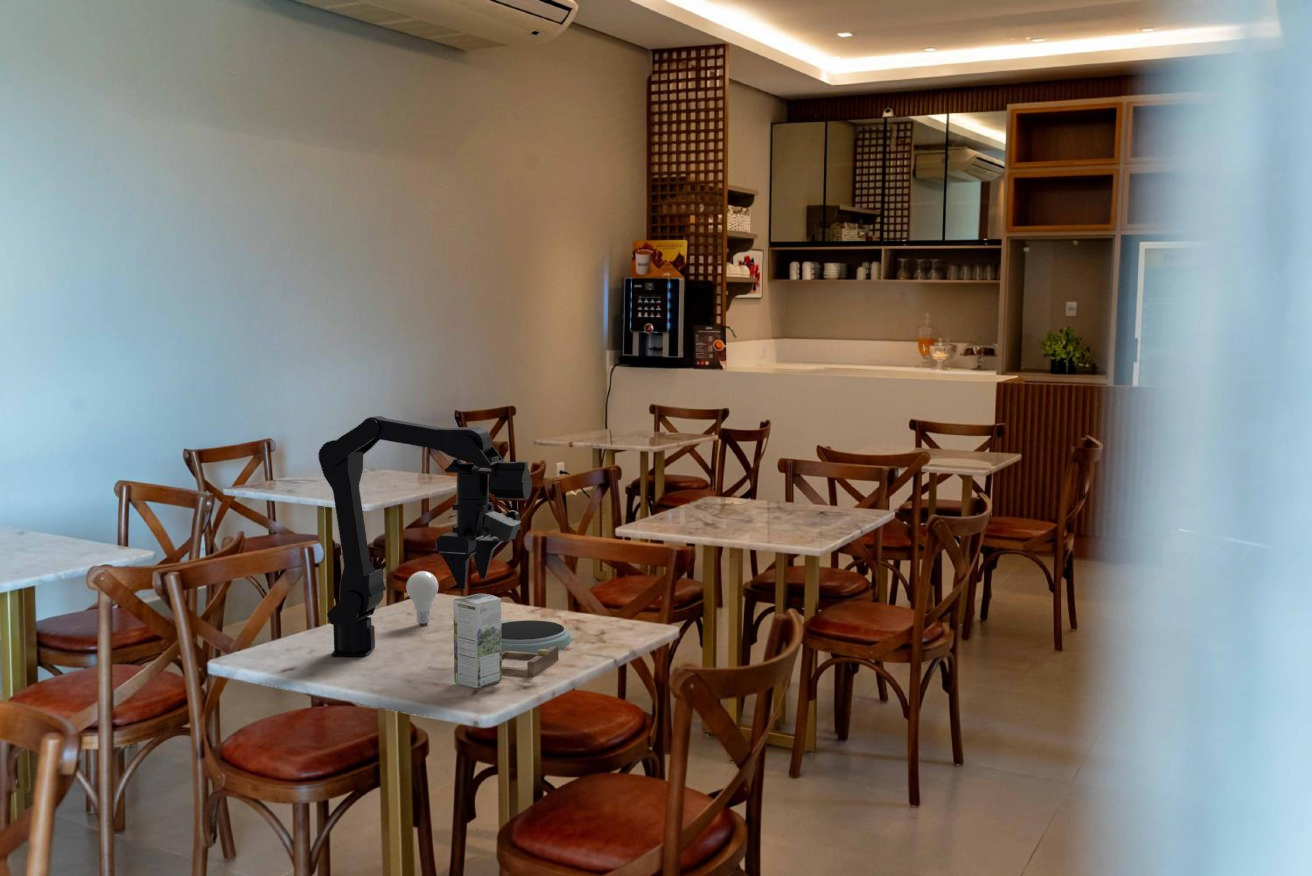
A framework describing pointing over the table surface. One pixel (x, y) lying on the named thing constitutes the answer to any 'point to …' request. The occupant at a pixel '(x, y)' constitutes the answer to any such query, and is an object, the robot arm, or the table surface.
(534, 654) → the square wooden frame
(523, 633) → the scale
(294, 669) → the table surface
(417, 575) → the lightbulb
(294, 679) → the table surface
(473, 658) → the syrup box
